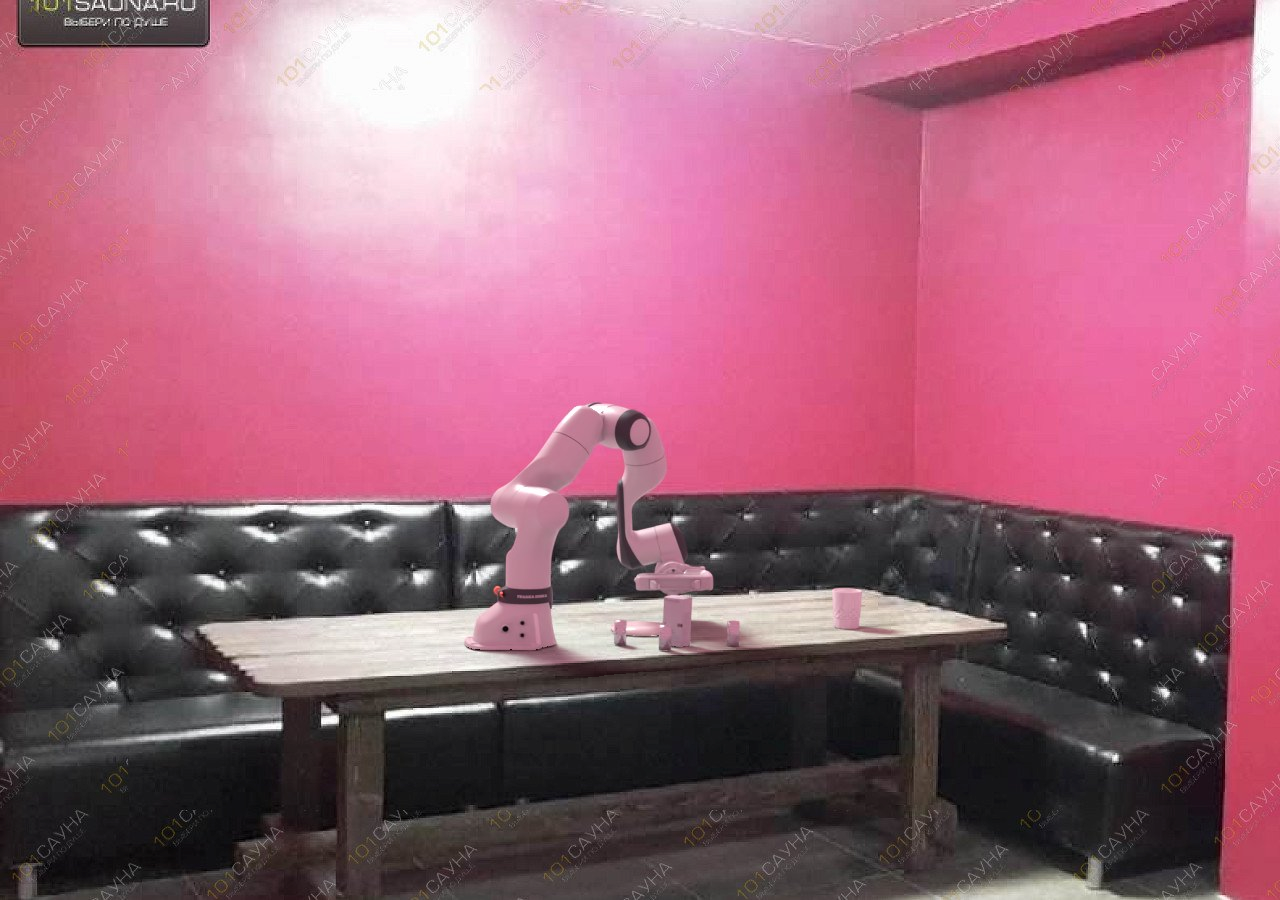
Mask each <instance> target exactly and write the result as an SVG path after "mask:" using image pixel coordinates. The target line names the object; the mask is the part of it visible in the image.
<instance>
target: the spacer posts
mask: <svg viewBox="0 0 1280 900" xmlns="http://www.w3.org/2000/svg"><path fill="white" fill-rule="evenodd" d="M627 622H628V621H627V620H626V619H614V622H613V624H614V633H613V645H614V644H615V645H614V646H616V645H625V646H627V636H626V626H627ZM740 624H741V622H740V620H727V623H726V625H727V626H726V627H727V628H726V629H727V630H726V631H727V632H726V633H727V635H726V639H727V640H726V646H727V645H728V646H727V647H730V646H738V647H740V627H741V625H740ZM659 650H671V651H672V646H671V625H667V624H662V625H659V636H658V651H659Z"/></svg>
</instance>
